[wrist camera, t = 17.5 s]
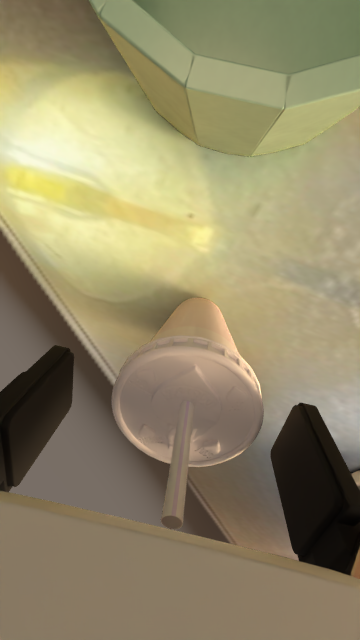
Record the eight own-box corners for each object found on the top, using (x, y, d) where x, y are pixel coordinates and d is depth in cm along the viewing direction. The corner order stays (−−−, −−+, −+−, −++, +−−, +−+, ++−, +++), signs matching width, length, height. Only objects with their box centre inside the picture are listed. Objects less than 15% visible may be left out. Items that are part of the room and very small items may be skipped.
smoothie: (252, 288, 18) (343, 482, 5) (229, 365, 21) (255, 618, 8) (161, 271, 18) (44, 417, 6) (150, 349, 21) (53, 569, 8)
